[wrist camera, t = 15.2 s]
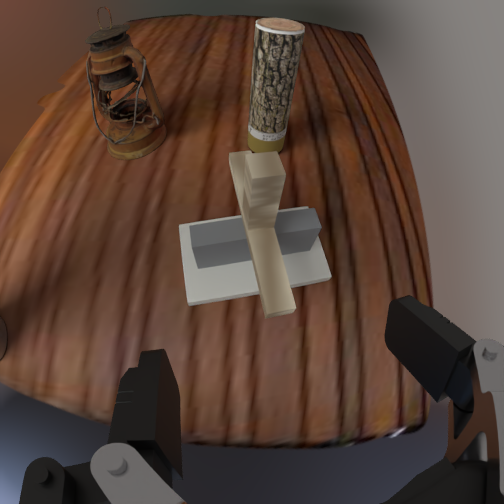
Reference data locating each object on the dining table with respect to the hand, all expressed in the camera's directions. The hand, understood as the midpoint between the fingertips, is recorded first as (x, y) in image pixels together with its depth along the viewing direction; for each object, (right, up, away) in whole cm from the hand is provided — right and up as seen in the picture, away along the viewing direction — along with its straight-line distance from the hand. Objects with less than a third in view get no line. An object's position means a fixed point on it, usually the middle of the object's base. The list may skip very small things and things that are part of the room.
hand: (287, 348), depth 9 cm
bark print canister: (+1, +23, +43) cm, 49 cm away
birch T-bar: (-1, +6, +26) cm, 26 cm away
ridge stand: (-1, +3, +33) cm, 33 cm away
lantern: (-25, +26, +43) cm, 56 cm away
